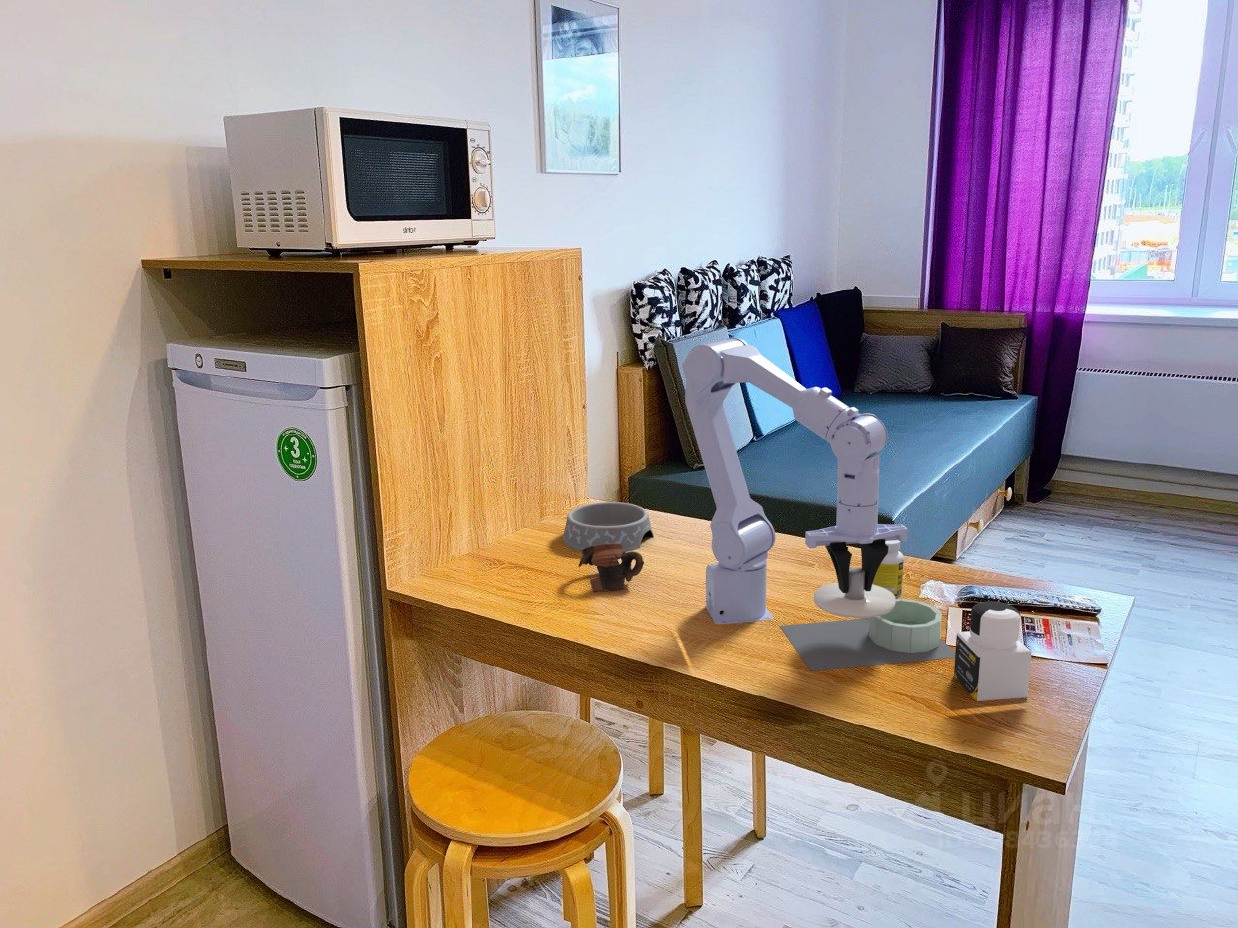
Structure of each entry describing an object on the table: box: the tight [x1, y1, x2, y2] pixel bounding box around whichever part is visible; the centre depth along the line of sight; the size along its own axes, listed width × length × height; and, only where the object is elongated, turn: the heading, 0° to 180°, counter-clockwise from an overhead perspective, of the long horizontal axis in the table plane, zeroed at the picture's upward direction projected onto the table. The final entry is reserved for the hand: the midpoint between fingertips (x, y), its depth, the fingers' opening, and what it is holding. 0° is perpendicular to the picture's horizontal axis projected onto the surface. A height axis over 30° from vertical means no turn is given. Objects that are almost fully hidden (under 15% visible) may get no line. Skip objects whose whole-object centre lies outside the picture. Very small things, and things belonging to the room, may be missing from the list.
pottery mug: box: [578, 543, 645, 592], centre depth 169 cm, size 12×10×8 cm
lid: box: [813, 566, 897, 619], centre depth 140 cm, size 12×12×5 cm
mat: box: [779, 617, 955, 672], centre depth 143 cm, size 22×15×1 cm
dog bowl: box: [562, 501, 655, 553], centre depth 192 cm, size 17×18×5 cm
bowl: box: [869, 598, 943, 653], centre depth 143 cm, size 10×10×4 cm
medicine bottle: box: [953, 600, 1032, 702], centre depth 127 cm, size 7×7×12 cm
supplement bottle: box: [872, 540, 905, 599], centre depth 159 cm, size 5×5×10 cm
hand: (854, 589), depth 140 cm, fingers closed on lid, 3 cm apart
